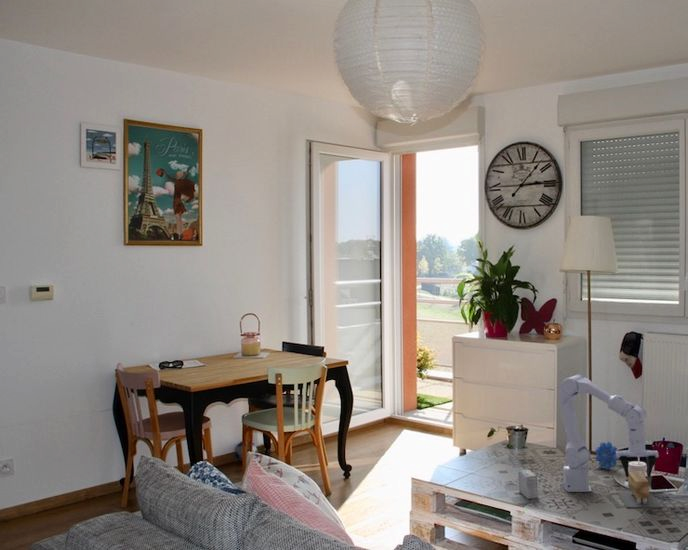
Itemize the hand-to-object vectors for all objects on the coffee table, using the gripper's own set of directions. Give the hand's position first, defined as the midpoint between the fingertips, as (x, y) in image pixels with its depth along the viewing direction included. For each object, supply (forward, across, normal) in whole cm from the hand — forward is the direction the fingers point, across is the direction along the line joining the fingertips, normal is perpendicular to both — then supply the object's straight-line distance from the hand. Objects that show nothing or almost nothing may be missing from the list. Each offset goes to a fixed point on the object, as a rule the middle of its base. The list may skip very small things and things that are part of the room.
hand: (637, 476), depth 270 cm
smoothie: (+9, +3, +13) cm, 16 cm away
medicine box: (+9, -39, +6) cm, 41 cm away
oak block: (+6, 0, 0) cm, 6 cm away
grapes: (+9, -3, +37) cm, 38 cm away
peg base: (+9, 0, 0) cm, 9 cm away
